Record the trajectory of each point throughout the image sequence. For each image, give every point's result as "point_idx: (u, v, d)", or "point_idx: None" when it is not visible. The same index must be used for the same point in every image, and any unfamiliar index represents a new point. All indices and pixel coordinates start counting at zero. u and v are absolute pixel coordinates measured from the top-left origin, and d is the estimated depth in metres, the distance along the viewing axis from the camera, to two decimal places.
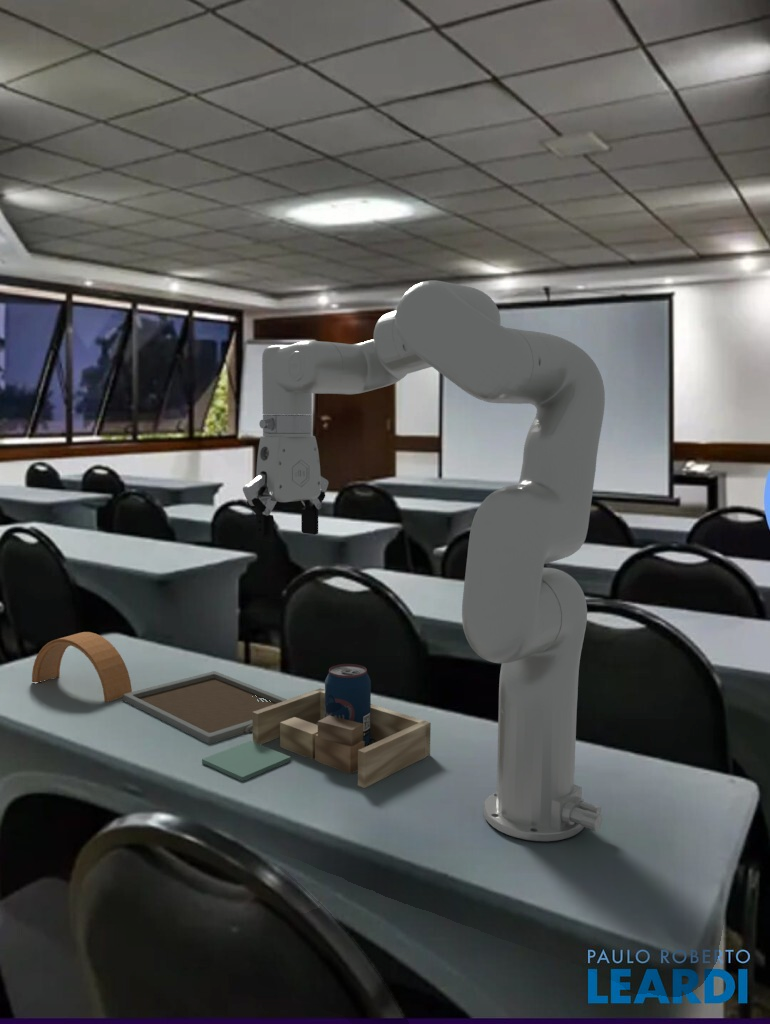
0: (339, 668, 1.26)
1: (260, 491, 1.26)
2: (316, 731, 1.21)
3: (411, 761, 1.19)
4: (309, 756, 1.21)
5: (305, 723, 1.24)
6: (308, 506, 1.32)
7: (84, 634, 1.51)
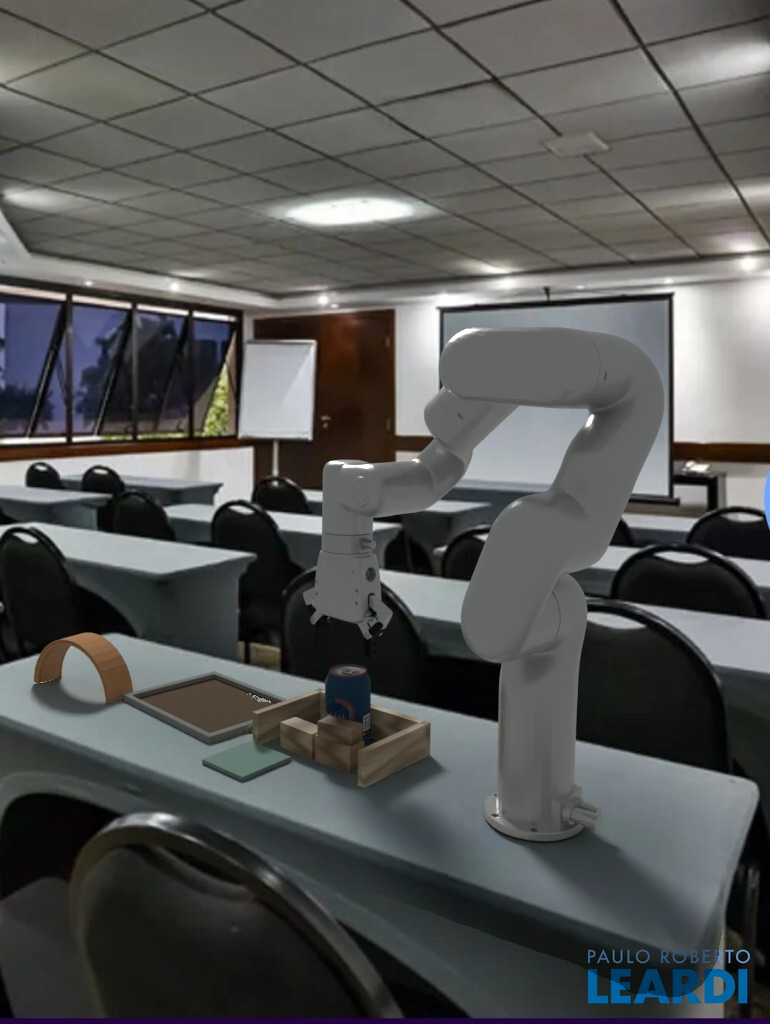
0: (339, 668, 1.26)
1: None
2: (315, 731, 1.21)
3: (411, 761, 1.19)
4: (308, 756, 1.21)
5: (305, 723, 1.24)
6: (323, 621, 1.27)
7: (86, 635, 1.51)
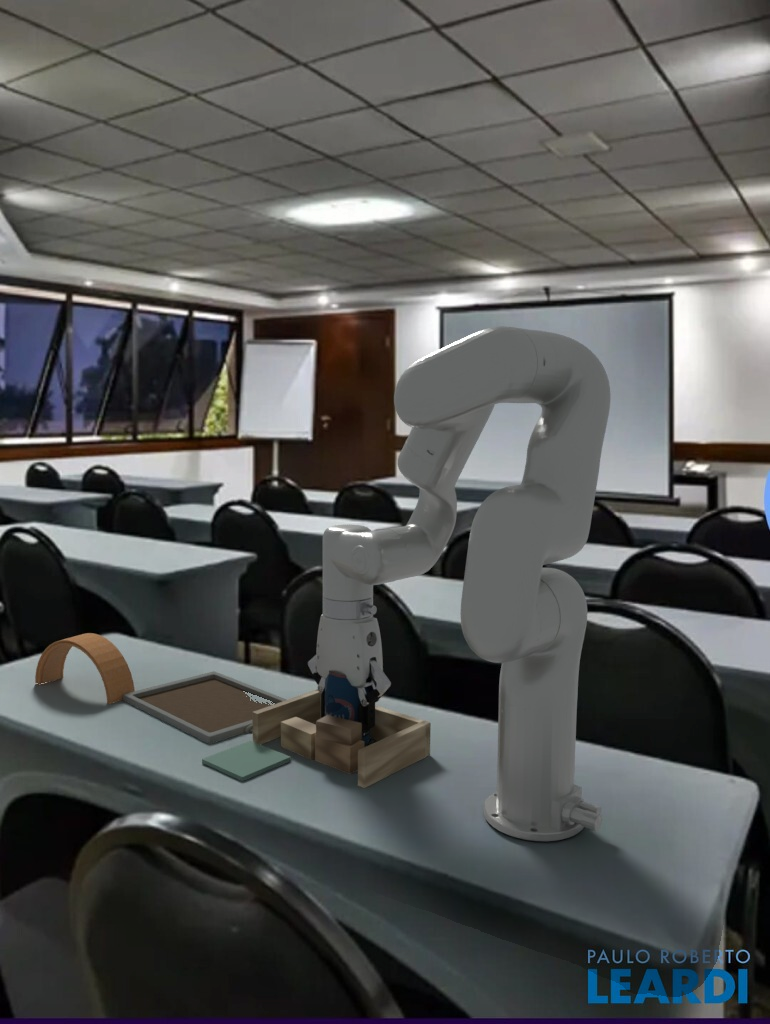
0: None
1: None
2: (315, 731, 1.21)
3: (411, 761, 1.19)
4: (308, 756, 1.21)
5: (306, 723, 1.24)
6: None
7: (87, 635, 1.50)
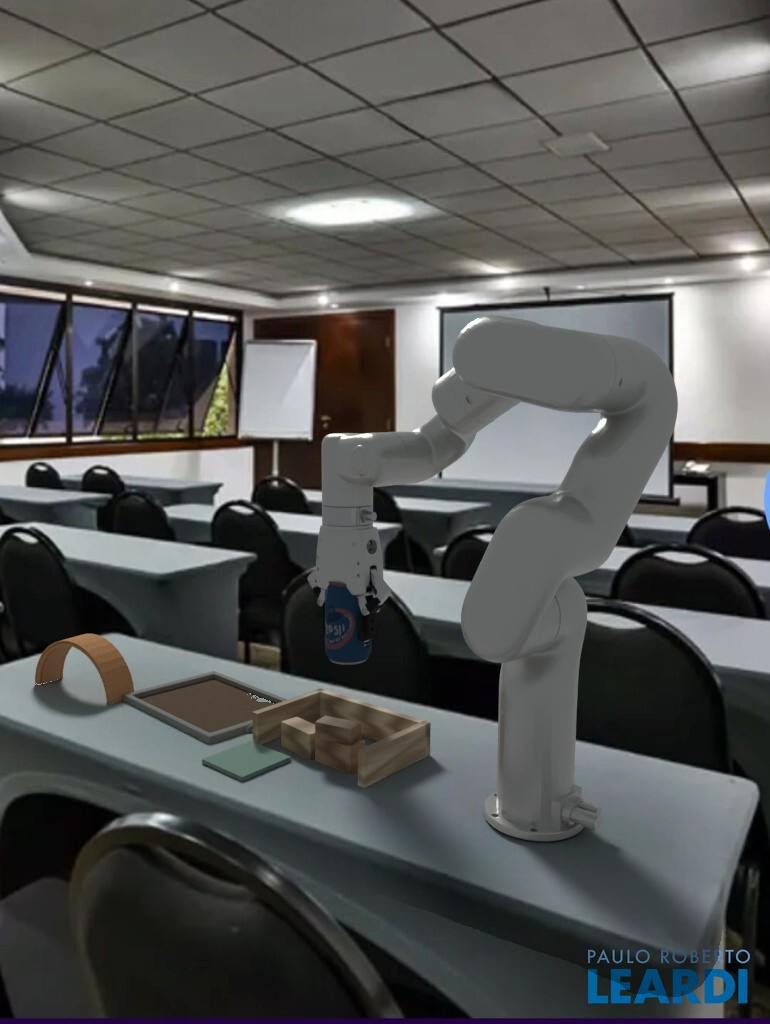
0: None
1: None
2: (314, 732, 1.21)
3: (411, 761, 1.19)
4: (307, 756, 1.21)
5: (306, 723, 1.24)
6: None
7: (87, 636, 1.50)
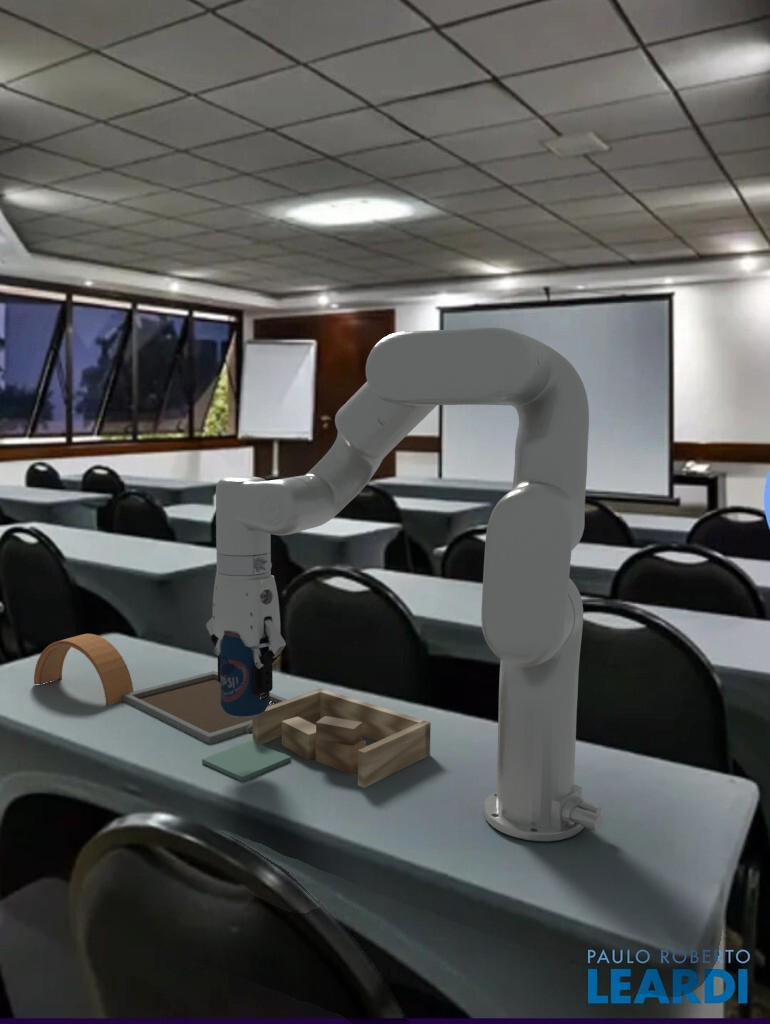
0: None
1: None
2: (313, 732, 1.21)
3: (411, 761, 1.19)
4: (306, 756, 1.21)
5: (306, 723, 1.24)
6: None
7: (86, 636, 1.50)
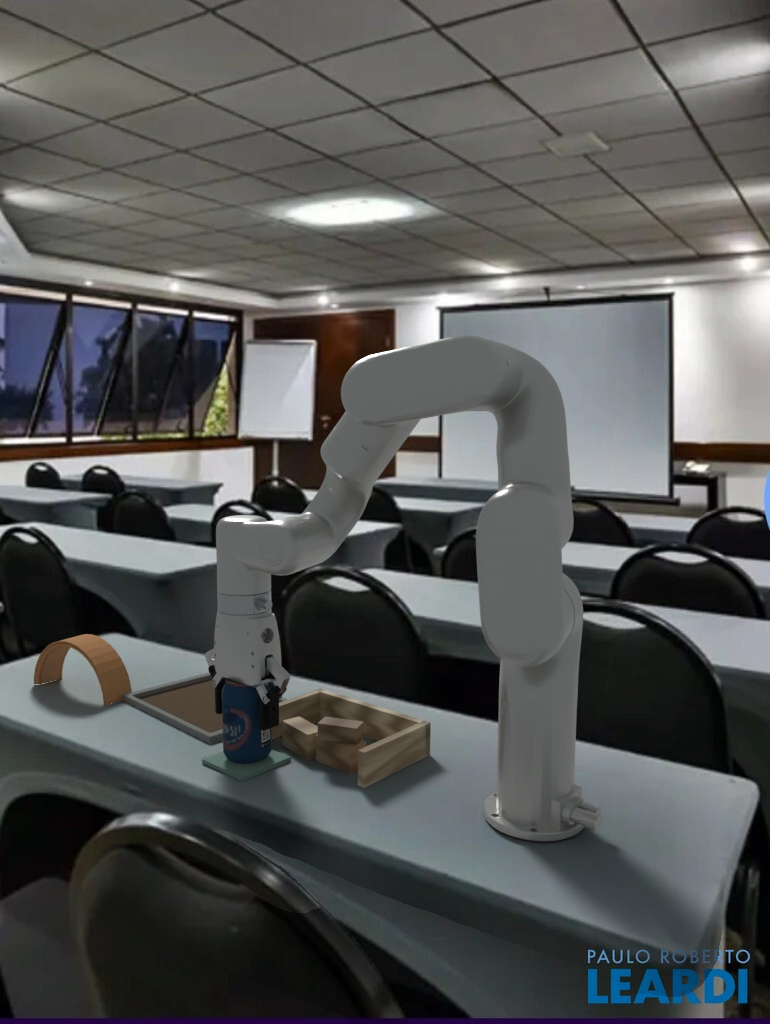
0: None
1: None
2: (312, 732, 1.21)
3: (411, 761, 1.19)
4: (305, 756, 1.21)
5: (306, 724, 1.24)
6: None
7: (85, 636, 1.50)
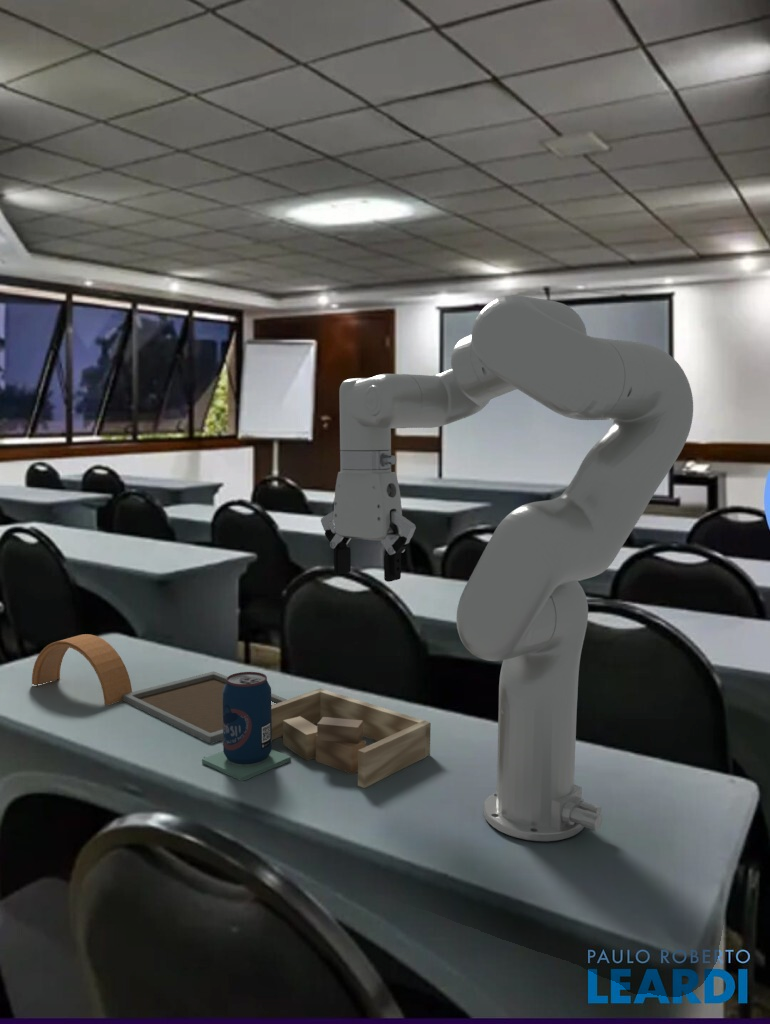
0: (239, 676, 1.20)
1: None
2: (312, 732, 1.21)
3: (411, 761, 1.19)
4: (304, 757, 1.21)
5: (306, 724, 1.24)
6: (342, 545, 1.26)
7: (84, 636, 1.50)
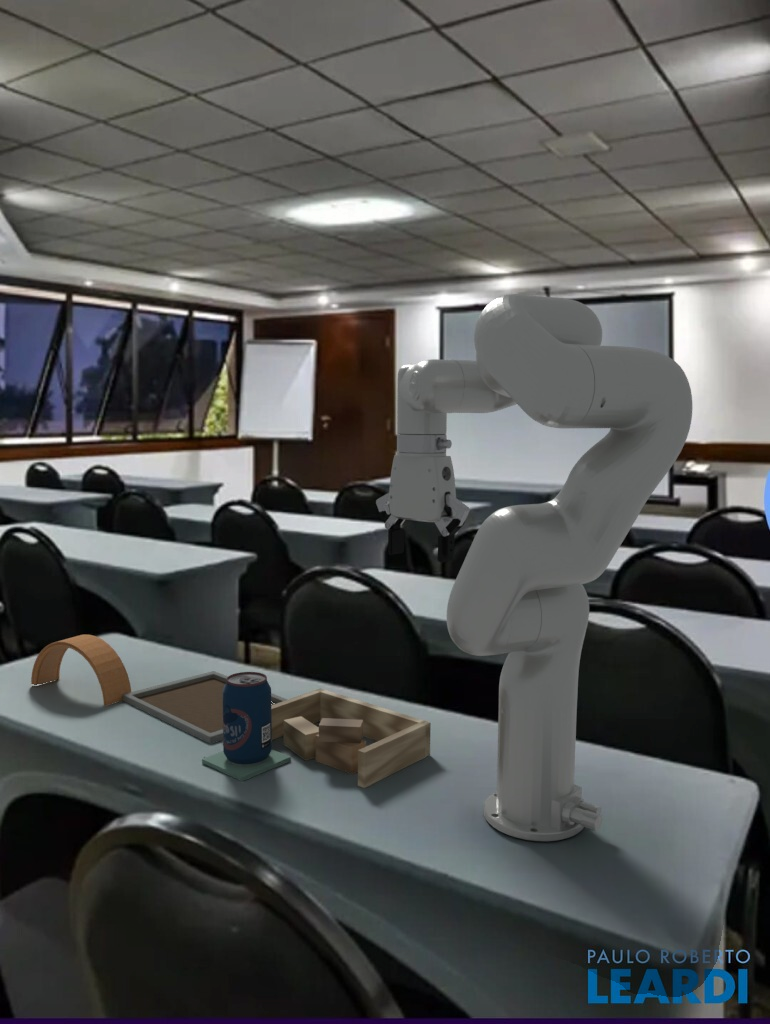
0: (239, 676, 1.20)
1: None
2: (311, 732, 1.21)
3: (411, 761, 1.19)
4: (303, 757, 1.21)
5: (306, 724, 1.24)
6: (397, 526, 1.30)
7: (84, 637, 1.49)
